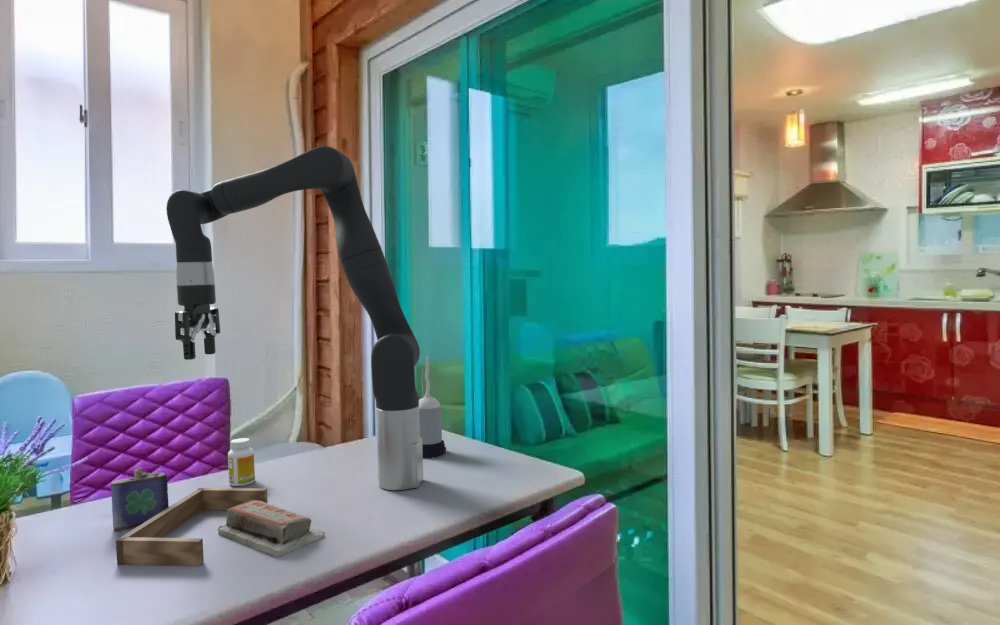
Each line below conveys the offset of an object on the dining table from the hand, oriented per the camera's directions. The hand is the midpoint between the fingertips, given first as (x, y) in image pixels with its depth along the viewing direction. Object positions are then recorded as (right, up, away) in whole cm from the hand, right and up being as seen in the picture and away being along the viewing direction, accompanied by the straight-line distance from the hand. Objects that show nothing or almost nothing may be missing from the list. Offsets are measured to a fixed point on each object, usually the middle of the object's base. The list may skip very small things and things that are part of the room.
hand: (200, 356), depth 139 cm
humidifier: (+48, -27, +22) cm, 59 cm away
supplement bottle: (+8, -29, +2) cm, 30 cm away
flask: (-1, -30, -20) cm, 36 cm away
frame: (+12, -30, -25) cm, 41 cm away
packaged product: (+25, -31, -26) cm, 48 cm away
